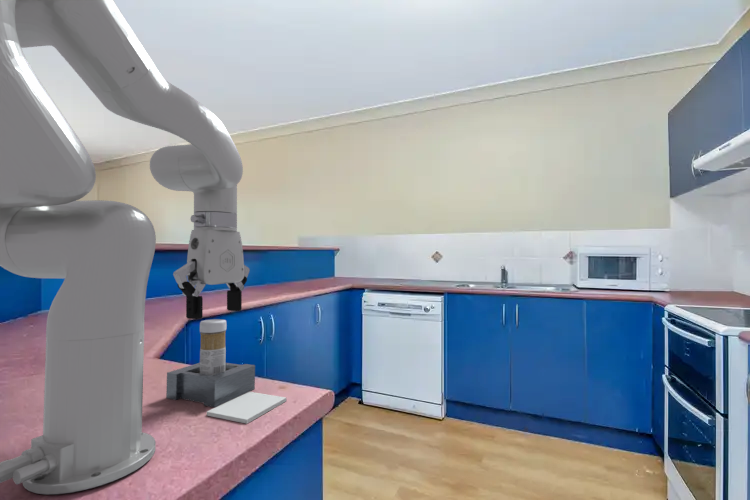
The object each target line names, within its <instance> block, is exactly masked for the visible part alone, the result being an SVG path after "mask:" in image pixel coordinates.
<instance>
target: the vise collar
mask: <svg viewBox="0 0 750 500" xmlns="http://www.w3.org/2000/svg"><path fill="white" fill-rule="evenodd" d="M255 380H256V365H255V364H248V363H244V364H243V363H242V364H237V363H230V362H225V371H224V372H221V373H218V374H215V375H213V376H212V375H205V374H200V362H198V363H195V364H191V365H187V366H185V367H181V368H178V369H175V370H174V369H173V370H171V371H167V372H166V399H169V400H173V401H177V400H186V401H191V402H195V403H196V402H198V403H200V404H201V403H203V406H206V407H210V408H216V407H218V406H220V405H222V404H224V403H226V402H229V401H231V400H233V399H235V398H237V397H239V396H242V395H244V394H246V393H248V392H252V391H253V390H255V388H256V387H255V386H256V385H255V384H256V383H255V382H256V381H255Z"/></svg>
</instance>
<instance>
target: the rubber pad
mask: <svg viewBox="0 0 750 500" xmlns="http://www.w3.org/2000/svg"><path fill="white" fill-rule="evenodd" d="M285 402H287V397H284V396H280V395H273V394H265V393H260V392H253V391H249V392H247V393H245V394H243V395H240V396H238V397H236V398H234V399H232V400H229V401H227V402H225V403H223V404H221V405H219V406H216V407H212V408H211V409H209V410H207V411H206V416H208V417H212V418H213V417H214V418H217V419H223V420H227V421H233V422H237V423H242V424H249V423H251V422H252V421H254V420H256V419H258V418H260V417H261V416H263V415H264V414H266V413H268V412H270V411H272V410H274V409H276V408H277V407H279V406H280V405H282V404H284V403H285Z"/></svg>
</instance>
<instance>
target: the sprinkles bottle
mask: <svg viewBox="0 0 750 500" xmlns="http://www.w3.org/2000/svg"><path fill="white" fill-rule="evenodd" d="M226 331H227V320H226V319H220V318H213V319H205V320H201V321H200V322H199V334H200V349H199V363H200V374H205V375H212V376H213V375H215V374H218V373H221V372H224V371H225V363H226V354H227V353H226V352H227V350H226Z"/></svg>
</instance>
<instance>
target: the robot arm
mask: <svg viewBox="0 0 750 500" xmlns="http://www.w3.org/2000/svg"><path fill="white" fill-rule="evenodd" d="M46 46H47V47H48V46H50V47H54V49H55V50H56V51H57V52H58V53H59V54H60V56H61V57H62V58H63V59H64V60H65V62H67V63H68V65H69V66H70V67H71V68H72V69H73V70H74V72H75V73H76V74H77V75H78V76H79V78H80V79H81V80H82V82H83V83H85V85H86V86H87V87H88V88H89V90H90V91H91V92H92V93H93V95H95V97H96V98H97V99H98V100H99V101H100V103H101V104H102V105H103V107H105V108H106V110H108V111H109V112H111V113H113V114H114V115H117V116H119V117H121V118H125V119H128V120H130V121H132V122H135V123H138V124H140V125H141V124H142V125H145V126H148V127H152V128H155V129H159V130H162V131H165V132H167V133H170V134H172V135H174V136H177V137H179V138H181V139H183V140H184V141H186V142H188V144H181V145H180V144H178V145H176V144H175V145H167V146H163V147H160V148H159V149H157V150H156V151H154V152H153V154H152V155H151V157H150V160H149V169H150V173H151V175H152V177H153V178H154V180H155V181H156V182H157V183H158V184H159V185H160V186H161V187H163V188H165V189H167V190H171V191H176V192H190V193H191V192H192V193H193V215H192V214H191V216H190V222H192V223H193V229H191V233H190V236H189V240H188V248H187V249H188V250H187V258H186V263H185V264H183V266H181V267H179V268H178V269H176V270H175V271H173V274H172V275H173V277H174V279H175V282H176V283H177V288H178V289H179V290H180V291H181V292H182V296H184V297H186V300H185V301H186V303H185V305H186V306H185V309H186V310H185V311H186V312H185V313H186V314H185V317H186V318H187V319H189V320H190V319H191V320H201V319H203V314H204V313H203V312H204V311H203V307H204V306H203V296H202V295H200V294H201V293H202V292H203V290H204V288H205V287H206V285H210V286H213V285H223V284H226V286H227V288H228V289H229V290H226V310H227V311H229V312H240V311H242V310H243V309H242V307H243V305H242V304H243V303H242V298H243V297H242V296H243V295H242V292H243V291H244V290H245V285H246V283H247V281H248V276H249V274H250V271H251V270H250V267H248V266H247V265H245V261H244V260H245V259H244V250H243V242H242V236H241V232H240V231H238V184H239V183H240V182H241V180H242V177H243V174H244V173H243V172H244V168H243V167H244V166H243V161H242V158H241V155H240V153H239V150H238V149H237V146H236V143H235V142H234V140H233V139H232V137H231V135H230V133H229V131H228V130H227V128H226V127H225V125H224V123H223V122H222V121H221V120H220V119H219V117H218V116H217V115H216V114H215V113H214V112H213V111H211V110H210V109H209V108H208V107H206V106H205V105H204V104H202V103H201V102H200V101H198V100H197V99H195V98H194V97H192V96H191V95H189V94H188V93H187V92H185V91H184V90H182V89H180V88H179V87H177V86H175V85H174V84H172V83H170V82H169V81H168V80H167V79H166V78H165V77H164V76H163V75H162V73H161V72H160V70H159V69H158V67H157V66H156V64H155V63H154V60H153V59H152V58H151V56H150V54H149V53H148V52H147V50H146V49H145V47H144V46H143V43H141V41H140V40H139V37H138V36H137V35H136V33H135V31H134V30H133V28H132V27H131V25H130V24H129V22H128V20H127V19H126V17H125V16H124V14H123V12H122V11H121V10H120V8H119V6H118V5H117V3H116V2H115V0H0V267H1V268H3V269H4V270H6V271H8V272H10V273H12V274H14V275H18V276H21V277H25V278H30V279H31V278H32V279H34V278H35V279H63V282H62V284H61V285H60V287H59V289H58V290H57V292H56V295H55V296H54V298H53V300H52V301H51V305H50V306H49V310H48V313H47V318H46V326H45V327H46V328H45V339H46V340H45V358H44V359H45V364H44V390H43V393H44V394H43V396H44V397H43V421H42V423H43V424H42V425H43V426H42V435H40V436H36V437H34V438H32V439H31V440H30V441H31V442H30V448H28V449H25V450H24V451H22V452H21V455H19V456H16V457H14V458H10V459H5V460H3V461H0V484H1V483H4V482H6V481H8V480H11V479H12V480H13V482H14V484H15V485H20V484H22V486H23V488H25V489H26V491H29V492H31V493H34V494H37V495H39V494H40V495H64V494H72V493H76V492H81V491H87V490H89V489H90V490H91V489H93V488H97V487H101V486H104V485H107V484H109V483H112V482H115V481H118V480H119V479H122V478H123V477H126V476H128V475H130V474H132V473H133V472H135V471H137V470H138V469H140V468H141V467H143V466H144V465H145V464H146V463H147V462H149V461H150V460H151V459H152V457H154V455H155V452H156V445H157V443H156V442H157V441H156V439H155V438H154V437H153V435H151V434H150V433H147V432H143V402H144V401H143V397H144V395H143V393H144V392H143V391H144V388H143V387H144V359H145V357H144V352H145V314H146V313H145V310H146V298H147V288H148V287H147V286H148V281H149V277H150V272H151V268H152V263H153V260H154V257H155V256H154V255H155V251H156V242H157V236H156V231H155V227H154V225H153V223H152V221H151V219H150V218H149V217H148V216H147V214H145V213H144V212H143V211H142V210H141V209H139V208H137V207H135V206H133V205H131V204H129V203H124V202H121V201H114V200H104V199H103V200H97V199H96V200H80V199H82V198H84V197H85V196H87V195H88V194H89V193H90V192H91V191H92V190H93V188H94V186H95V183H96V179H97V173H96V168H95V164H94V162H93V160H92V157H91V156H90V154H89V152H88V150H87V149H86V147H85V146H84V144H83V143H82V141H81V139H80V138H79V136H78V135H77V133H76V132H75V131H74V129H73V128H72V126H71V125H70V123H69V122H68V120H67V119H66V118H65V116H64V114H63V113H62V111H61V110H60V108H59V107H58V105H57V103H55V101H54V99H53V98H52V97H51V95H50V94H49V93H48V91H47V90H46V88H45V87H44V86H43V83H42V82H41V81H40V79H39V77H38V76H37V74H36V72H35V71H34V69H33V67H32V66H31V65H30V63H29V62H28V59H27V58H26V56H25V54H24V51H23V49H24V48H26V49H27V48H35V47H46Z"/></svg>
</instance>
